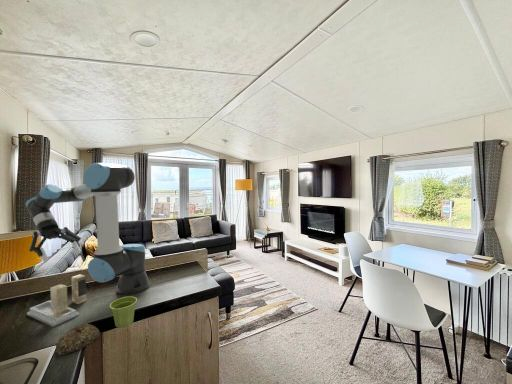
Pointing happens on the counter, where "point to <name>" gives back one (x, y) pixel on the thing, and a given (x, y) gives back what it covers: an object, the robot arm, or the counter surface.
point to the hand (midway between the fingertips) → (63, 256)
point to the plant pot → (123, 311)
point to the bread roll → (77, 339)
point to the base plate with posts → (54, 308)
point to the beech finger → (78, 289)
